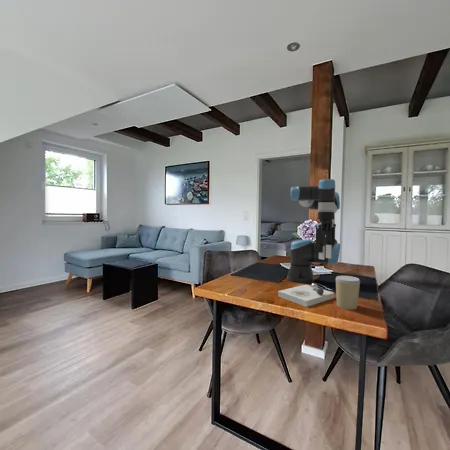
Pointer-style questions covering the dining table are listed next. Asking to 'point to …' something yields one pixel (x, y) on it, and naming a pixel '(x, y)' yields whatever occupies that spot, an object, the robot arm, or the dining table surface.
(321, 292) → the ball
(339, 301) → the coffee cup
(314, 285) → the steel ball
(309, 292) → the board
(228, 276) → the dining table surface
